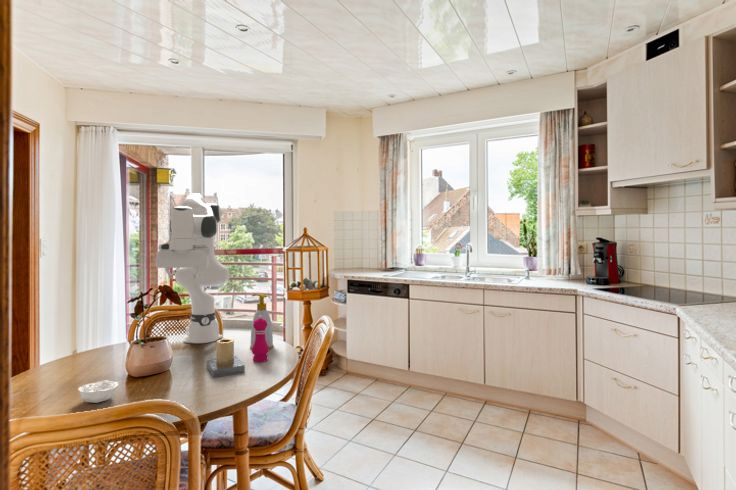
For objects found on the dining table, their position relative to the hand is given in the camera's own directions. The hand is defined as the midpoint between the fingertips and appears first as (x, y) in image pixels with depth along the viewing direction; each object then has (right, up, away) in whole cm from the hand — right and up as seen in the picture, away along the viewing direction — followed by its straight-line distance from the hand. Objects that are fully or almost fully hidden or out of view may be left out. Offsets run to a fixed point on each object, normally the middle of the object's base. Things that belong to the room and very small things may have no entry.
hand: (183, 278), depth 168 cm
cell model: (-13, -39, -32) cm, 52 cm away
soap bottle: (+25, -36, +29) cm, 53 cm away
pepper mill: (+29, -37, +10) cm, 49 cm away
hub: (+18, -34, -2) cm, 39 cm away
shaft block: (+18, -37, -2) cm, 42 cm away
